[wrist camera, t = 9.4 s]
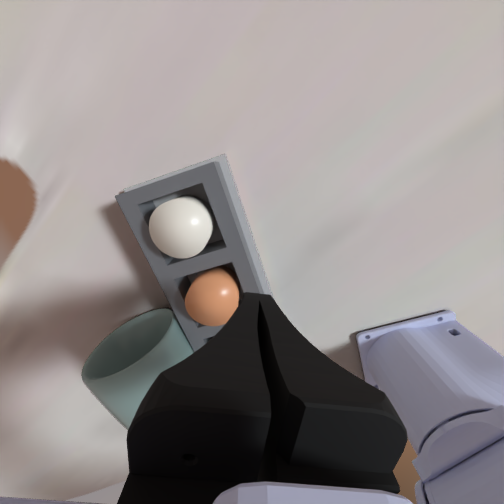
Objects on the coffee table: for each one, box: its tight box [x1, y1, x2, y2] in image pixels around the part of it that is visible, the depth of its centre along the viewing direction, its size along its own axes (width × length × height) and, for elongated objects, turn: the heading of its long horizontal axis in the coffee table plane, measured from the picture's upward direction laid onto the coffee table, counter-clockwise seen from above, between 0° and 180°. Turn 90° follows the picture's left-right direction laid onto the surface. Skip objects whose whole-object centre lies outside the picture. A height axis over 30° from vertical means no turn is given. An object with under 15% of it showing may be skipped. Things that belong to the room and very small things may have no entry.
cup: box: [81, 308, 194, 430], centre depth 21 cm, size 8×8×10 cm
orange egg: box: [185, 265, 240, 326], centre depth 19 cm, size 4×4×3 cm
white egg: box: [149, 195, 216, 258], centre depth 17 cm, size 4×4×3 cm
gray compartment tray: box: [115, 154, 274, 352], centre depth 20 cm, size 8×20×3 cm, turn 18°
